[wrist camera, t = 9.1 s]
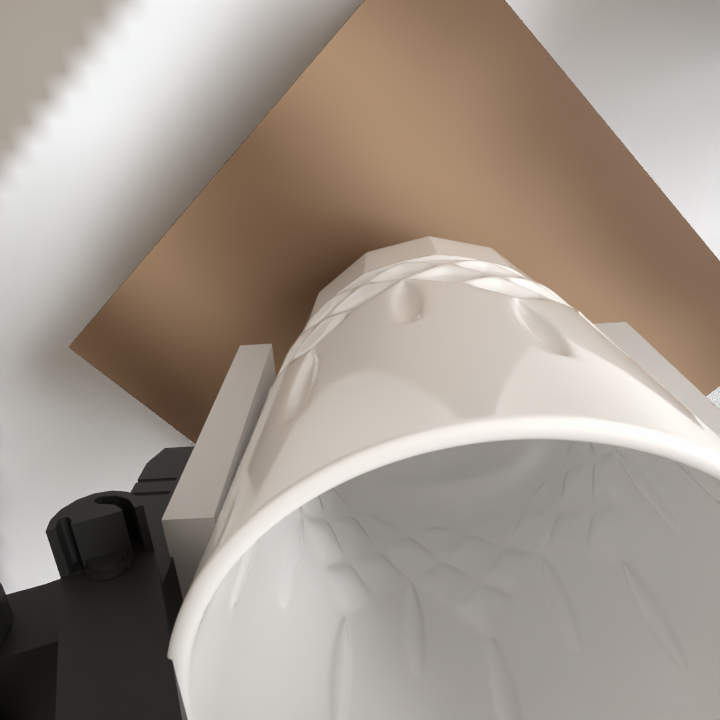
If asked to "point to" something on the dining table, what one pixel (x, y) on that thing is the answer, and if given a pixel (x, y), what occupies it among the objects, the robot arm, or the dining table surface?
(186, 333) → the walnut base
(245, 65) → the dining table surface
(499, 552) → the white cup
